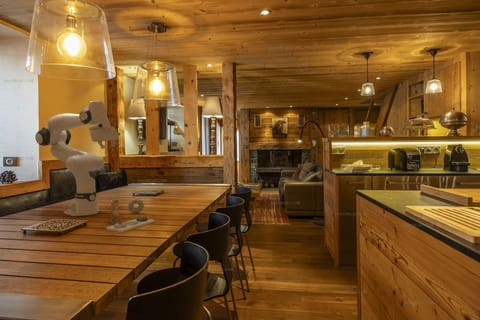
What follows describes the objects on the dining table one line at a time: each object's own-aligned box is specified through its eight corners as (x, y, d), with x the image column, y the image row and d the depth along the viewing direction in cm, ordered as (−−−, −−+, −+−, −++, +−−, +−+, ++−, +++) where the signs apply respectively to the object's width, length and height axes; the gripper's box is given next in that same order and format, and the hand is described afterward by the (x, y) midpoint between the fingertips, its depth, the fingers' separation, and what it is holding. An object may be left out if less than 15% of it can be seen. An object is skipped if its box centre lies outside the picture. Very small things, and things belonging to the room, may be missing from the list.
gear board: (106, 229, 156) (106, 222, 156) (139, 219, 178) (139, 213, 178) (122, 232, 151) (122, 225, 151) (154, 222, 173) (154, 215, 173)
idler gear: (105, 223, 169) (105, 200, 168) (115, 221, 175) (115, 198, 174) (114, 225, 166) (114, 201, 165) (124, 222, 172) (124, 199, 171)
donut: (144, 212, 200) (143, 197, 199) (143, 213, 196) (143, 198, 196) (128, 212, 197) (128, 198, 197) (127, 214, 194) (127, 199, 193)
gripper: (109, 127, 191) (115, 147, 192) (86, 127, 172) (92, 150, 173) (117, 124, 190) (123, 145, 191) (95, 125, 170) (101, 148, 171)
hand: (108, 147), depth 182 cm, fingers open, 8 cm apart
